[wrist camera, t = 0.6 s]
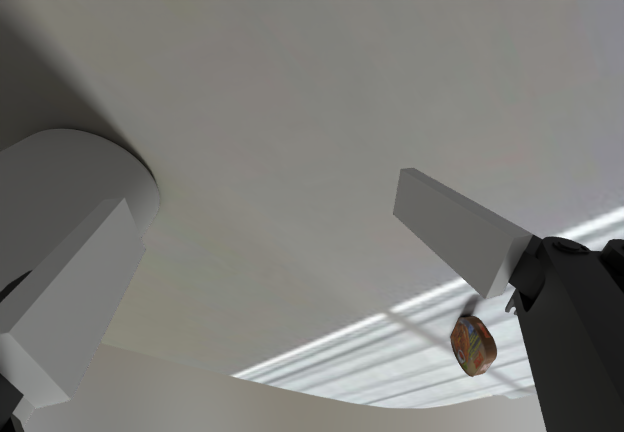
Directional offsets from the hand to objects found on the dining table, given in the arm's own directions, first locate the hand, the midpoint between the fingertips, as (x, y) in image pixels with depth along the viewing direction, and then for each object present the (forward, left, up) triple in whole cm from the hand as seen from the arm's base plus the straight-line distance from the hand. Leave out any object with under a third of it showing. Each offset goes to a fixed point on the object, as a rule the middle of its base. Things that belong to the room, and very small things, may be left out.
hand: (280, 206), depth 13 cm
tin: (+45, +37, -15) cm, 60 cm away
